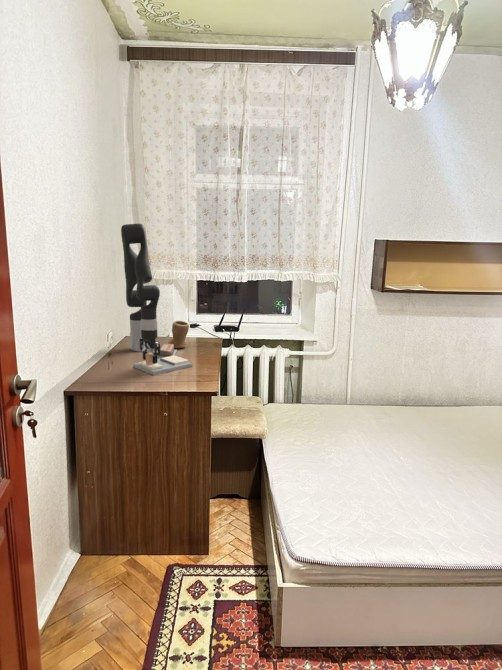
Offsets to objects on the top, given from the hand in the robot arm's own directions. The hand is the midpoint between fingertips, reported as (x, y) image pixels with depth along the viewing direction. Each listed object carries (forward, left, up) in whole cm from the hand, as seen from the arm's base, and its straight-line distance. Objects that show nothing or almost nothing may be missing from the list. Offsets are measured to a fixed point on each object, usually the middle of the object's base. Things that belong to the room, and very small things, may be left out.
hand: (150, 361), depth 210 cm
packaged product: (-18, +21, -4) cm, 28 cm away
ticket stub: (0, 0, -2) cm, 2 cm away
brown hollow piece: (-29, +37, -4) cm, 47 cm away
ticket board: (0, +8, -4) cm, 9 cm away
